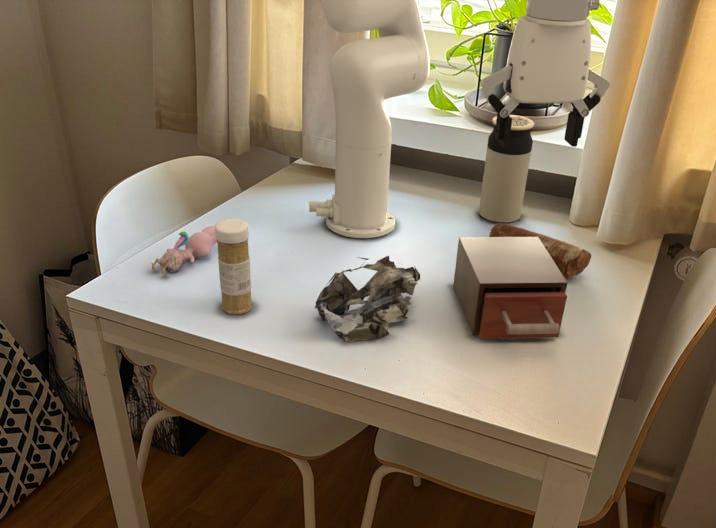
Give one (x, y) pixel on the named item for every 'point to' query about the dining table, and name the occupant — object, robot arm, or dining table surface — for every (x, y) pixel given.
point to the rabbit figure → (187, 249)
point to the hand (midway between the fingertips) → (536, 143)
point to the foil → (368, 301)
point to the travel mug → (506, 172)
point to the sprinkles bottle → (234, 265)
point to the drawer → (521, 313)
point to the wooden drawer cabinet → (501, 270)
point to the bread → (550, 249)
